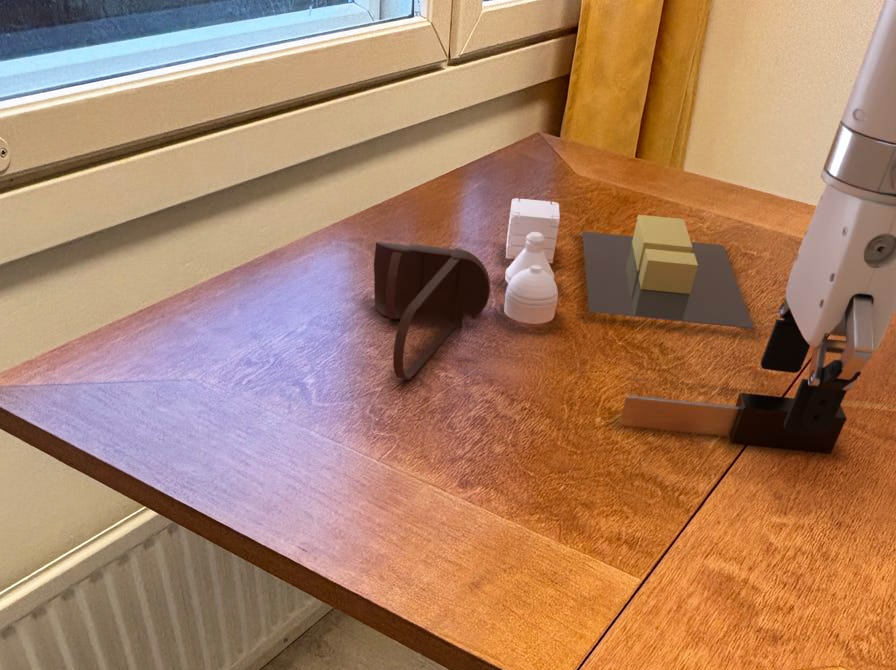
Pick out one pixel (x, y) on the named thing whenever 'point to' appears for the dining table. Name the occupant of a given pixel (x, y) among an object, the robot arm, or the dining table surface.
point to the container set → (531, 261)
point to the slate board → (621, 293)
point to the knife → (731, 421)
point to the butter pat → (667, 271)
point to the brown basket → (427, 292)
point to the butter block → (659, 236)
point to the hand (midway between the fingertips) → (790, 399)
